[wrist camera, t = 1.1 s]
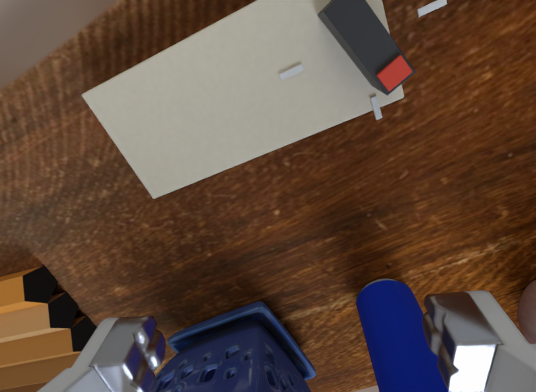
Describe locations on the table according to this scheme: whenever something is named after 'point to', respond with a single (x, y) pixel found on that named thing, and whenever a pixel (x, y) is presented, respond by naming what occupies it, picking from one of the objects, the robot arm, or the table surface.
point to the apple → (528, 312)
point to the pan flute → (37, 331)
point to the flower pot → (236, 356)
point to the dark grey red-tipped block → (367, 43)
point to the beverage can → (397, 339)
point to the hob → (235, 93)
